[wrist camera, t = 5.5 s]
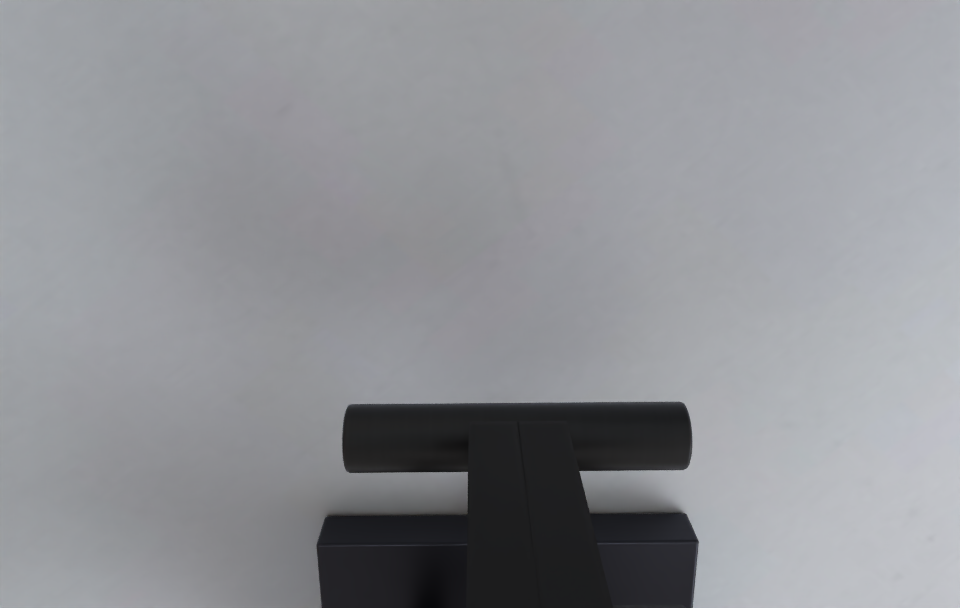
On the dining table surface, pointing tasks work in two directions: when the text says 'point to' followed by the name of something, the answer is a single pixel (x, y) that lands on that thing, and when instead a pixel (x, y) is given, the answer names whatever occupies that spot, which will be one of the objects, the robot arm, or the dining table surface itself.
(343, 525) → the bracket
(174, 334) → the dining table surface
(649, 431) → the lever
